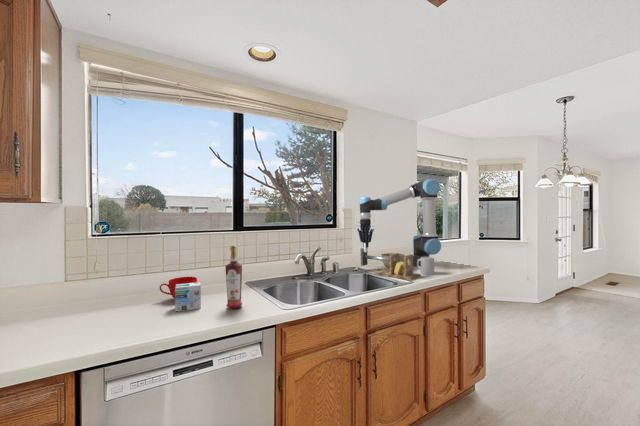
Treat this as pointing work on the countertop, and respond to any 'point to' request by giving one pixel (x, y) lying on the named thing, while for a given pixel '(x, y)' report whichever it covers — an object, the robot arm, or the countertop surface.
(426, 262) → the mug
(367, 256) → the shaft
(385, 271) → the bearing block
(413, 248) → the robot arm
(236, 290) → the liquor
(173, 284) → the ceramic cup
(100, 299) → the countertop surface
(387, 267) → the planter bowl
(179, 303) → the light bulb box
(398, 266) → the collar
